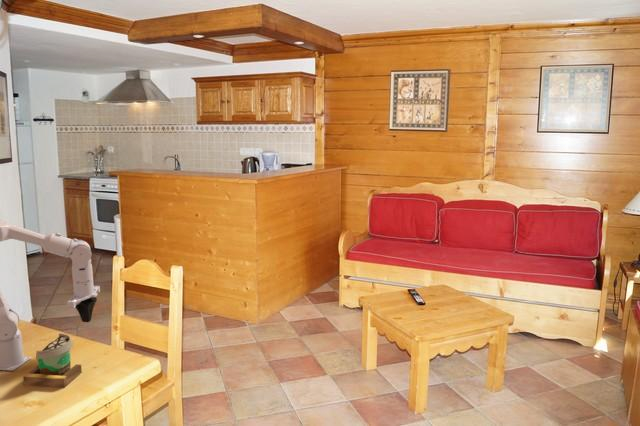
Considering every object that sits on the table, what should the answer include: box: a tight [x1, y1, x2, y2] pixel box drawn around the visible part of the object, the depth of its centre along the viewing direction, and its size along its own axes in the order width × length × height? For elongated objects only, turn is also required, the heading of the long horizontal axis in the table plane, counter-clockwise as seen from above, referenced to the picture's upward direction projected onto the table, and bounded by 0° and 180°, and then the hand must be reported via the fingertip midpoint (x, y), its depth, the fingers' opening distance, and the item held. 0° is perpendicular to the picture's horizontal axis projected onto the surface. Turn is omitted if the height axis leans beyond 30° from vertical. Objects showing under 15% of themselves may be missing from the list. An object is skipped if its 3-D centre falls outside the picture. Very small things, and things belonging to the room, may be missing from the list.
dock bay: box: [22, 364, 83, 389], centre depth 143 cm, size 12×8×3 cm
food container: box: [35, 333, 74, 376], centre depth 144 cm, size 12×6×10 cm, turn 178°
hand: (86, 321), depth 159 cm, fingers closed
